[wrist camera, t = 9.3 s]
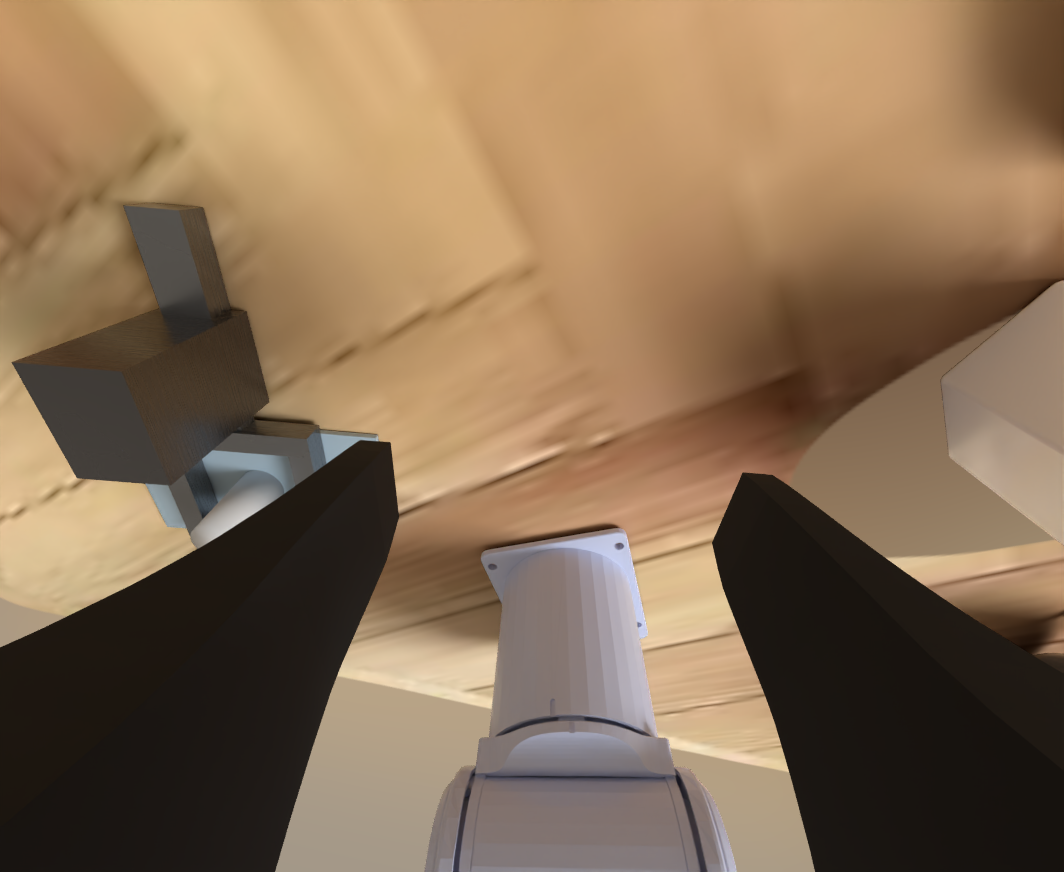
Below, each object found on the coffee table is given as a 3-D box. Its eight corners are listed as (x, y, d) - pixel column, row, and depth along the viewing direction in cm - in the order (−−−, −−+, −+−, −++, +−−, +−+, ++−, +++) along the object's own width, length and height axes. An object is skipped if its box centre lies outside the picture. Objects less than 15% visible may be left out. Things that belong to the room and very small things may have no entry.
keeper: (115, 412, 20) (28, 466, 17) (377, 434, 21) (343, 492, 17) (171, 522, 24) (109, 584, 21) (391, 540, 24) (365, 605, 21)
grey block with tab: (75, 195, 15) (-158, 210, 10) (277, 214, 16) (145, 237, 10) (209, 527, 24) (115, 628, 18) (341, 538, 24) (284, 640, 19)
